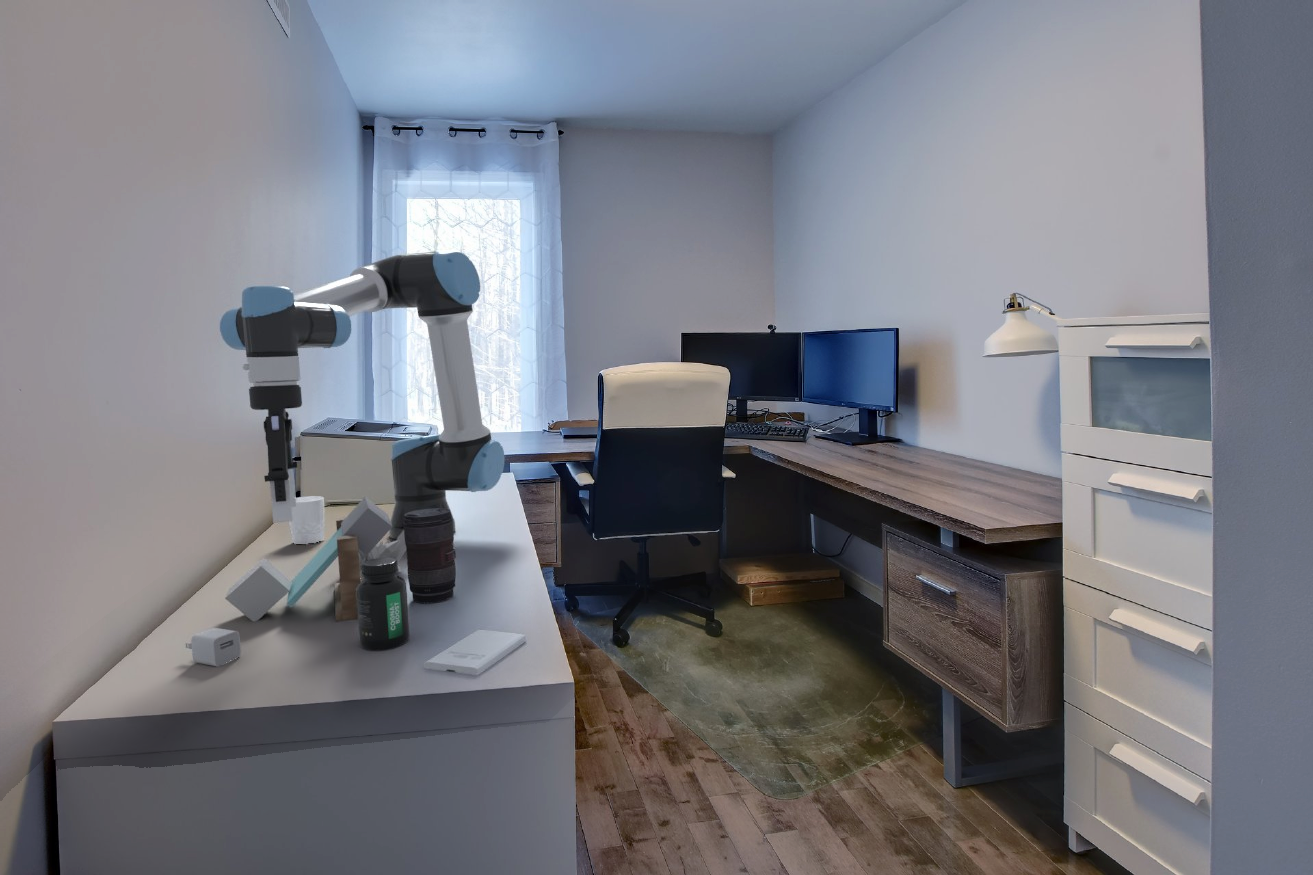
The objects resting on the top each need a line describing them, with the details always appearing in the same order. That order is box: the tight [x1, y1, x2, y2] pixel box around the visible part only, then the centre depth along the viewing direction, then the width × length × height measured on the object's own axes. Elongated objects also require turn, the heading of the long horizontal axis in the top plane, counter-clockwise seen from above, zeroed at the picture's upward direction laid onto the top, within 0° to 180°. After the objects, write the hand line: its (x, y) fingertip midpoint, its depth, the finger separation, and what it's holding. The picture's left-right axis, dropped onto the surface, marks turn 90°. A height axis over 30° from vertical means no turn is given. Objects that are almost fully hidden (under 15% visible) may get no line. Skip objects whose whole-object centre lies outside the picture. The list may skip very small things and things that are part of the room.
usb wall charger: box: [185, 627, 242, 668], centre depth 107 cm, size 4×7×4 cm, turn 67°
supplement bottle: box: [356, 558, 410, 651], centre depth 111 cm, size 7×7×12 cm
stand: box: [334, 516, 364, 622], centre depth 130 cm, size 5×19×13 cm, turn 23°
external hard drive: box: [423, 629, 527, 676], centre depth 106 cm, size 2×8×12 cm
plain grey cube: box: [224, 557, 292, 622], centre depth 125 cm, size 6×6×7 cm
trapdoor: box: [286, 496, 393, 608], centre depth 130 cm, size 19×13×5 cm
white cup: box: [288, 495, 325, 545], centre depth 178 cm, size 8×8×10 cm
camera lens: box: [403, 508, 457, 604], centre depth 132 cm, size 8×8×15 cm
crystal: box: [358, 496, 407, 578], centre depth 150 cm, size 10×13×15 cm
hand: (285, 514), depth 126 cm, fingers open, 13 cm apart
